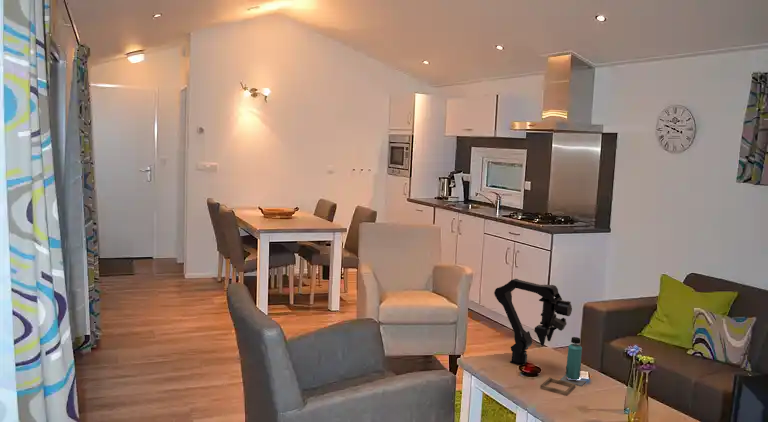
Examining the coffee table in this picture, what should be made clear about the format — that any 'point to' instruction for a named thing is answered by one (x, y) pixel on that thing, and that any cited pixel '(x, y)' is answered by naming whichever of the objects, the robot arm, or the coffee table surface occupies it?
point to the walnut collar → (571, 385)
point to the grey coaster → (573, 381)
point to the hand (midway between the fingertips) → (545, 343)
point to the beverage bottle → (574, 359)
